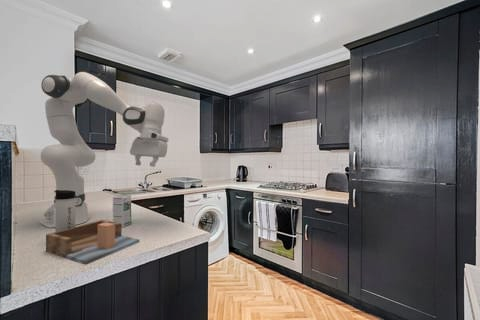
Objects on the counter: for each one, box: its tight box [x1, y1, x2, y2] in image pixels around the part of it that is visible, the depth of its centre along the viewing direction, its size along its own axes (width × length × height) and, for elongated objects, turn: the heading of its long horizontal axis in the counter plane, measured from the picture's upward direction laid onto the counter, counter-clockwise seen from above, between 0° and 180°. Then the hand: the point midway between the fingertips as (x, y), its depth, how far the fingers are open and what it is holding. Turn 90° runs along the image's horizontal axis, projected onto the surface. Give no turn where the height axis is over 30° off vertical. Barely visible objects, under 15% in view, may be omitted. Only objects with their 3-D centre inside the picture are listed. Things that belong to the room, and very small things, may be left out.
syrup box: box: [112, 194, 132, 228], centre depth 107 cm, size 6×6×14 cm
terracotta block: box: [97, 222, 115, 249], centre depth 79 cm, size 5×3×8 cm, turn 66°
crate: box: [45, 219, 140, 265], centre depth 81 cm, size 22×20×6 cm
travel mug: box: [53, 189, 76, 232], centre depth 87 cm, size 6×7×20 cm
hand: (144, 165), depth 100 cm, fingers open, 8 cm apart
